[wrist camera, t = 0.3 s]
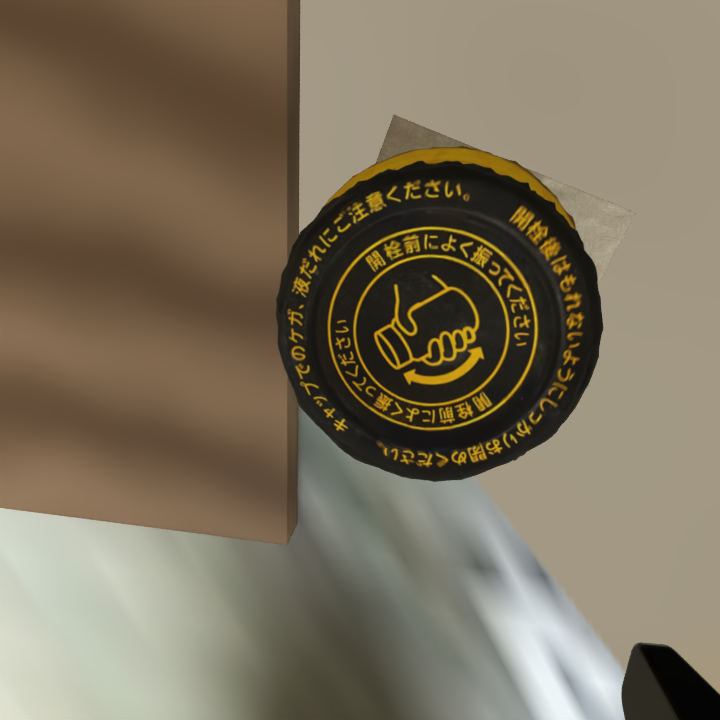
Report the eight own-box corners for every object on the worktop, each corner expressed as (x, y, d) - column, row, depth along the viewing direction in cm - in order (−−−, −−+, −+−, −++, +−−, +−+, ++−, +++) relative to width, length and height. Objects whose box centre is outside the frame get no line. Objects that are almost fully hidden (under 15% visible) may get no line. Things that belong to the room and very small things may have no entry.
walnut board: (297, 523, 24) (287, 544, 23) (-46, 481, 27) (-75, 498, 25) (300, -31, 19) (287, -48, 17) (-141, -25, 21) (-185, -41, 19)
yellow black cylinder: (394, 115, 19) (303, 21, 8) (634, 213, 19) (892, 258, 8) (320, 314, 22) (169, 458, 10) (533, 404, 21) (616, 652, 10)
